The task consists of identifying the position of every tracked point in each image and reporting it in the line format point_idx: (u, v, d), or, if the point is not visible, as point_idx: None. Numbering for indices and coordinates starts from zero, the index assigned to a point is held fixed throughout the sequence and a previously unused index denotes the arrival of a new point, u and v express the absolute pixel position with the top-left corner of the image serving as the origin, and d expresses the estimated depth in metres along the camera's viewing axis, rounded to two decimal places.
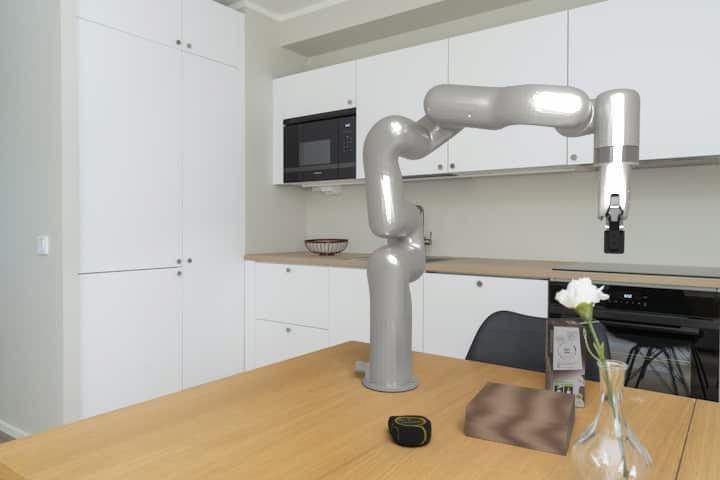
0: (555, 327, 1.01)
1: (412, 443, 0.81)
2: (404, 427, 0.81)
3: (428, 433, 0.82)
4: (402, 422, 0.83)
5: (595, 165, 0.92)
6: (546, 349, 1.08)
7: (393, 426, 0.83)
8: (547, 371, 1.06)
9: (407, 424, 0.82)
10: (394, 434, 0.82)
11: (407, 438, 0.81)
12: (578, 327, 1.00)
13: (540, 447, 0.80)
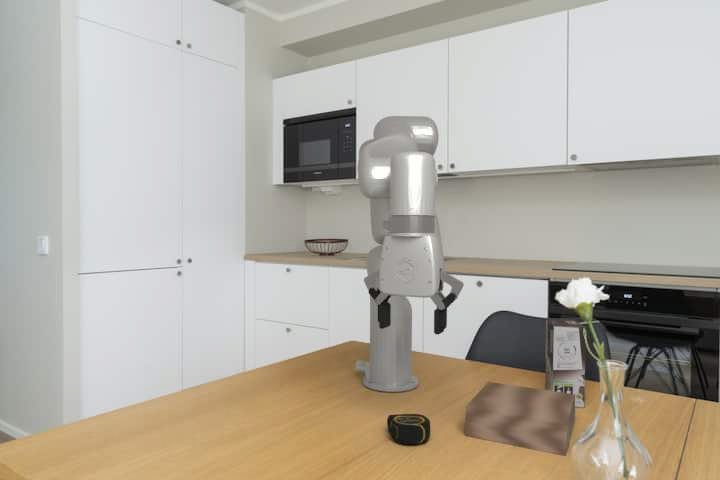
0: (555, 327, 1.01)
1: (411, 441, 0.81)
2: (403, 426, 0.82)
3: (427, 432, 0.82)
4: (401, 420, 0.84)
5: (414, 234, 0.80)
6: (546, 349, 1.08)
7: (392, 425, 0.83)
8: (547, 371, 1.06)
9: (406, 423, 0.82)
10: (394, 433, 0.83)
11: (406, 436, 0.81)
12: (578, 327, 1.00)
13: (540, 447, 0.80)
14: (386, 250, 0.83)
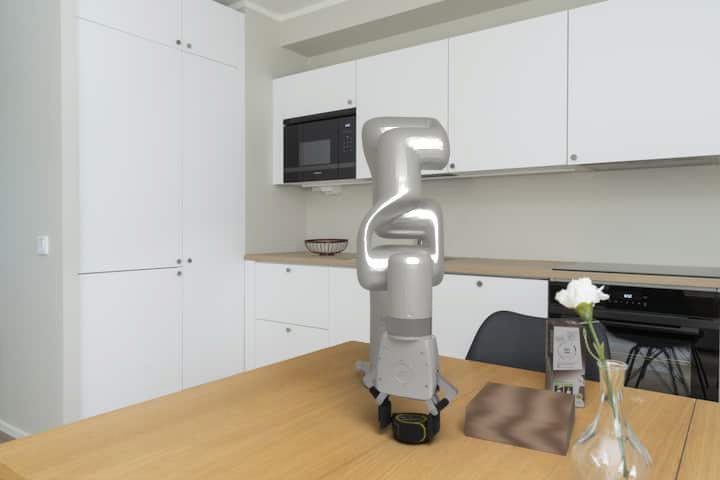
0: (555, 327, 1.01)
1: (411, 440, 0.81)
2: (403, 424, 0.82)
3: None
4: (403, 419, 0.84)
5: (411, 338, 0.80)
6: (546, 349, 1.08)
7: (394, 423, 0.84)
8: (547, 371, 1.06)
9: (407, 421, 0.83)
10: (395, 431, 0.83)
11: (407, 435, 0.81)
12: (578, 327, 1.00)
13: (540, 447, 0.80)
14: (383, 350, 0.83)
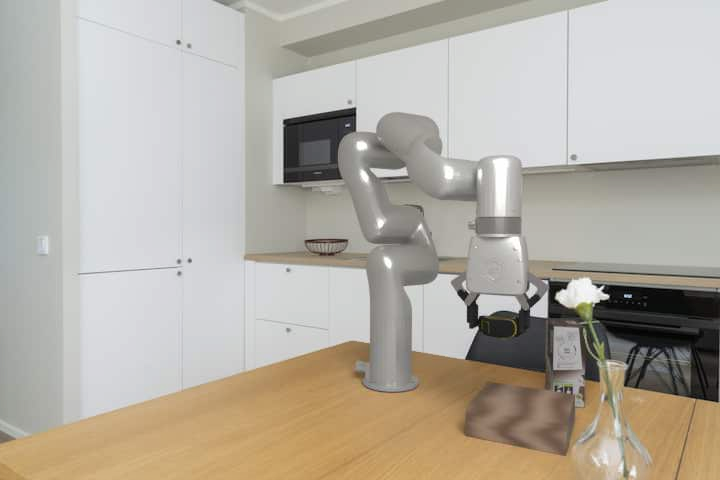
0: (555, 327, 1.01)
1: (503, 335, 0.84)
2: (495, 320, 0.85)
3: (518, 327, 0.85)
4: (493, 318, 0.87)
5: (503, 235, 0.83)
6: (546, 349, 1.08)
7: (483, 321, 0.86)
8: (547, 371, 1.06)
9: (497, 318, 0.85)
10: (485, 328, 0.86)
11: (498, 330, 0.84)
12: (578, 327, 1.00)
13: (540, 447, 0.80)
14: (474, 250, 0.86)
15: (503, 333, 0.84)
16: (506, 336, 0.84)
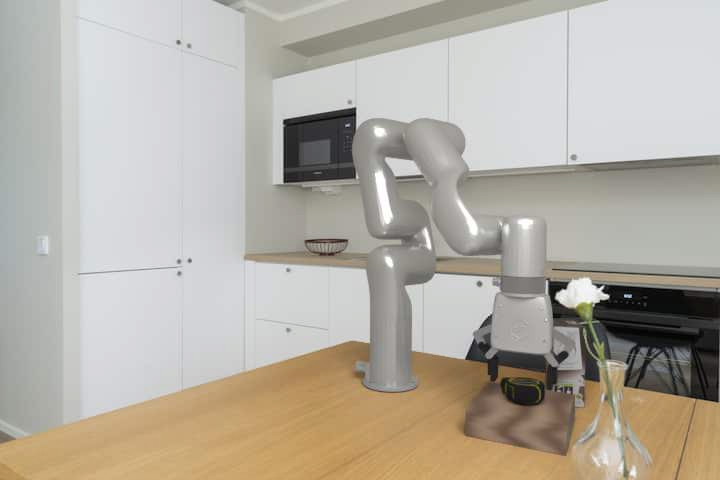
0: (555, 327, 1.01)
1: (527, 401, 0.86)
2: (519, 386, 0.86)
3: (542, 393, 0.86)
4: (517, 382, 0.88)
5: (529, 295, 0.84)
6: None
7: (508, 385, 0.88)
8: None
9: (522, 383, 0.87)
10: (510, 393, 0.87)
11: (523, 396, 0.86)
12: (578, 327, 1.00)
13: (540, 447, 0.80)
14: (499, 308, 0.87)
15: (528, 399, 0.85)
16: (531, 402, 0.86)
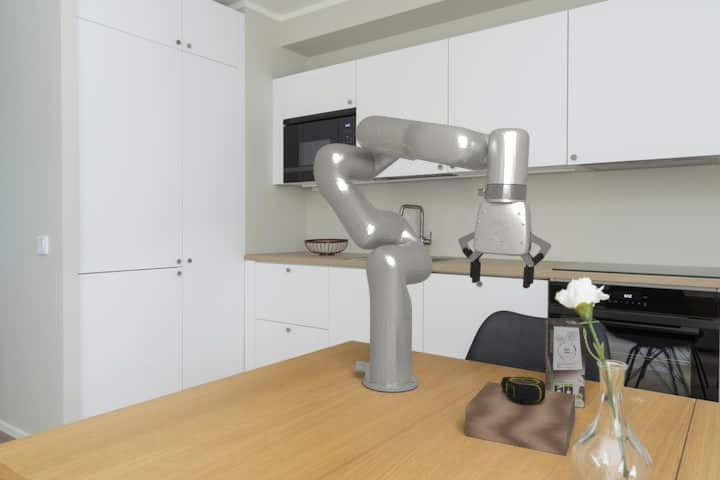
0: (555, 327, 1.01)
1: (528, 400, 0.86)
2: (520, 385, 0.86)
3: (543, 392, 0.87)
4: (517, 381, 0.88)
5: (510, 200, 0.92)
6: (546, 349, 1.08)
7: (508, 385, 0.88)
8: (547, 371, 1.06)
9: (522, 383, 0.87)
10: (510, 392, 0.87)
11: (524, 395, 0.86)
12: (578, 327, 1.00)
13: (540, 447, 0.80)
14: (482, 214, 0.95)
15: (528, 398, 0.86)
16: (531, 401, 0.86)
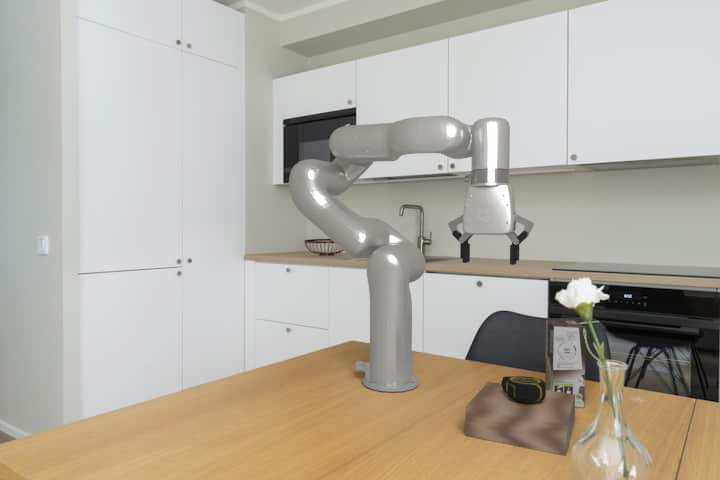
0: (555, 327, 1.01)
1: (529, 400, 0.86)
2: (521, 385, 0.87)
3: (543, 391, 0.87)
4: (518, 381, 0.89)
5: (494, 183, 0.99)
6: (546, 349, 1.08)
7: (509, 384, 0.89)
8: (547, 371, 1.06)
9: (523, 382, 0.87)
10: (511, 391, 0.88)
11: (524, 395, 0.86)
12: (578, 327, 1.00)
13: (540, 447, 0.80)
14: (469, 198, 1.03)
15: (529, 398, 0.86)
16: (532, 400, 0.86)
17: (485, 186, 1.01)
